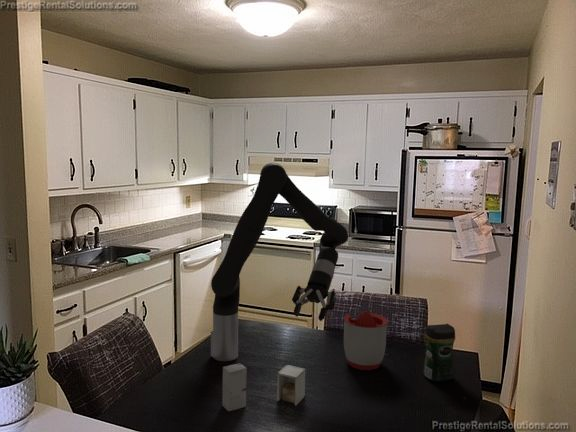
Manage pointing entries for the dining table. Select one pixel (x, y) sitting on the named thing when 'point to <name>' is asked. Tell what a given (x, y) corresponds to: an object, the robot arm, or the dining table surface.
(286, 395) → the cube
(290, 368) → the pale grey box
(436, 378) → the coffee jar
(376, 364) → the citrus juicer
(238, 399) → the skincare box
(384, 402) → the dining table surface
